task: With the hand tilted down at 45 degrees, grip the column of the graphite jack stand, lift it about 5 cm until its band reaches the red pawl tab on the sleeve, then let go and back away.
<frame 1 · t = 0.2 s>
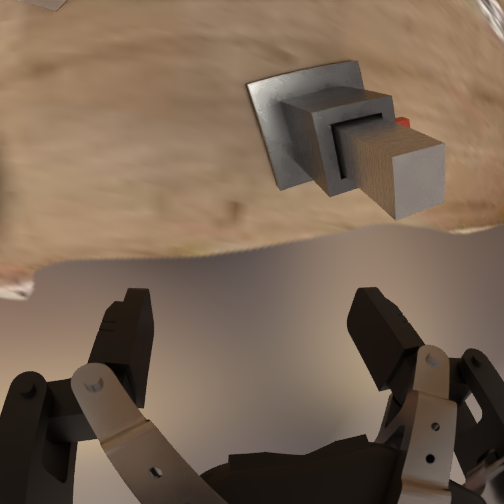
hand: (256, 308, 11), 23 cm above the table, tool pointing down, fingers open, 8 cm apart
jack stand base: (314, 121, 29), on the table
column: (358, 144, 21), point 10 cm above the table, slide at 0.0 cm
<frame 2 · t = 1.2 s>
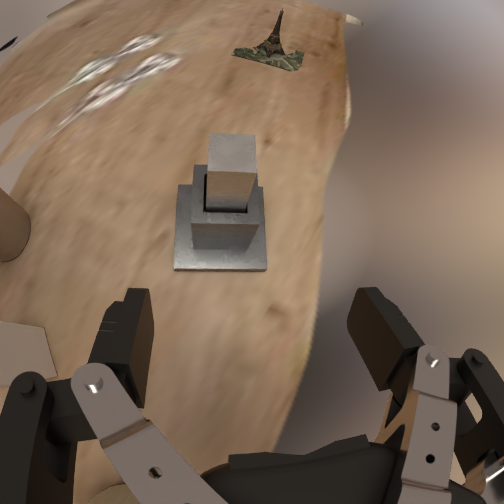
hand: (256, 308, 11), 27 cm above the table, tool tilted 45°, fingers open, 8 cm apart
eiffel tower figurine: (268, 54, 55), on the table
jack stand base: (219, 228, 41), on the table
milk carton: (33, 356, 31), on the table
column: (225, 195, 31), point 10 cm above the table, slide at 0.0 cm
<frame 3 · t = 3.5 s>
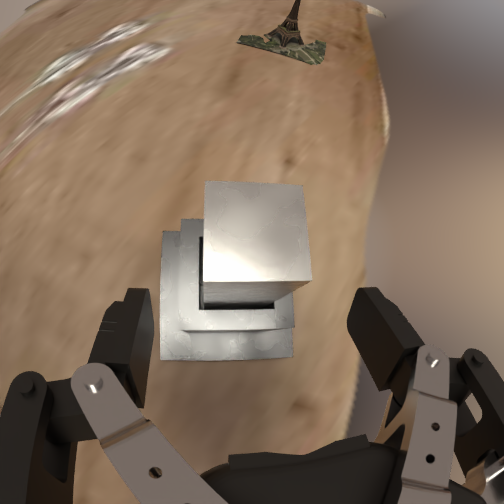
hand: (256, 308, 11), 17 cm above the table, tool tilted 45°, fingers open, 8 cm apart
eiffel tower figurine: (283, 44, 43), on the table
jack stand base: (224, 296, 28), on the table
column: (235, 274, 19), point 10 cm above the table, slide at 0.0 cm
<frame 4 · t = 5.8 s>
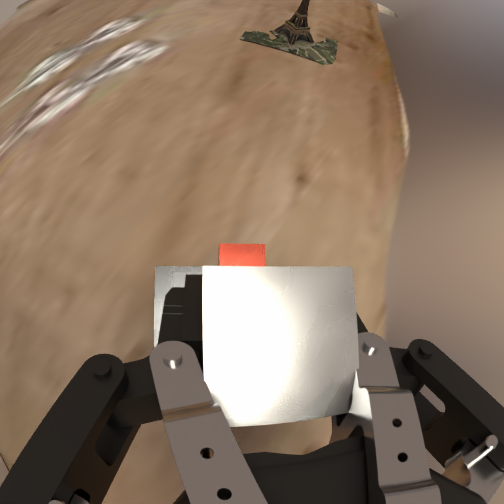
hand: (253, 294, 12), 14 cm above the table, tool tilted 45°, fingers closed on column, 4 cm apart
eiffel tower figurine: (291, 41, 38), on the table
jack stand base: (228, 341, 24), on the table
column: (244, 342, 15), point 10 cm above the table, slide at 0.0 cm, touching gripper
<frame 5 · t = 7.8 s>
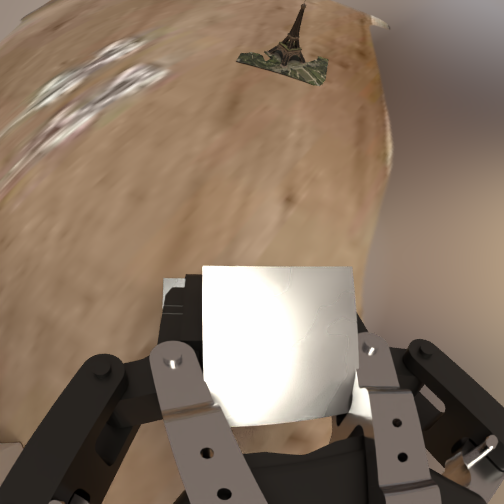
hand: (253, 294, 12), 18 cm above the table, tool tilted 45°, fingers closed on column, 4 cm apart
eiffel tower figurine: (283, 61, 43), on the table
milk carton: (16, 466, 19), on the table
column: (244, 342, 15), point 15 cm above the table, slide at 4.9 cm, touching gripper
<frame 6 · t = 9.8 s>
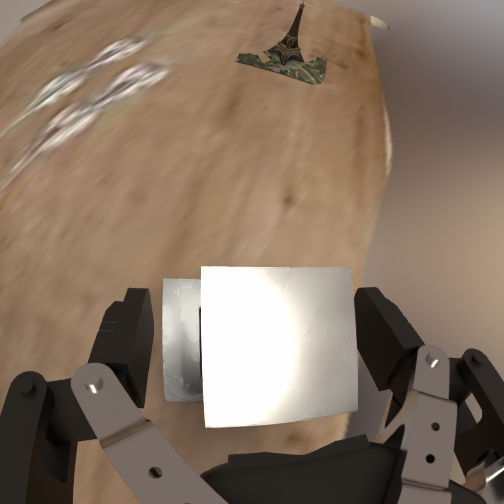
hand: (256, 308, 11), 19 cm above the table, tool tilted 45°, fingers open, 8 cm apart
eiffel tower figurine: (282, 61, 43), on the table
jack stand base: (224, 340, 29), on the table
column: (243, 342, 15), point 15 cm above the table, slide at 4.9 cm
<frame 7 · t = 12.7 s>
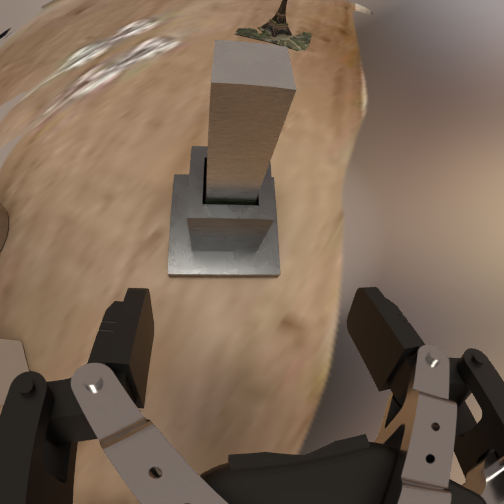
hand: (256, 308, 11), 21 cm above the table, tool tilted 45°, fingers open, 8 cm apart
eiffel tower figurine: (274, 35, 49), on the table
jack stand base: (223, 226, 34), on the table
milk carton: (11, 373, 25), on the table
column: (236, 149, 20), point 15 cm above the table, slide at 4.9 cm
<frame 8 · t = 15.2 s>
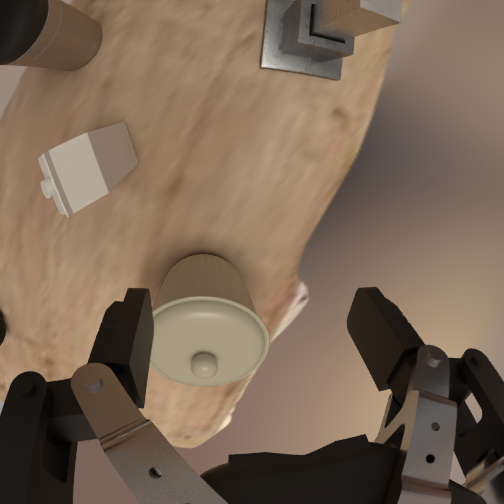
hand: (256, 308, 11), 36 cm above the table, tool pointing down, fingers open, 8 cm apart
jack stand base: (303, 38, 35), on the table
milk carton: (112, 150, 40), on the table
column: (343, 15, 22), point 15 cm above the table, slide at 4.9 cm
canister: (203, 281, 53), on the table
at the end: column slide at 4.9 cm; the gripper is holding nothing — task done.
